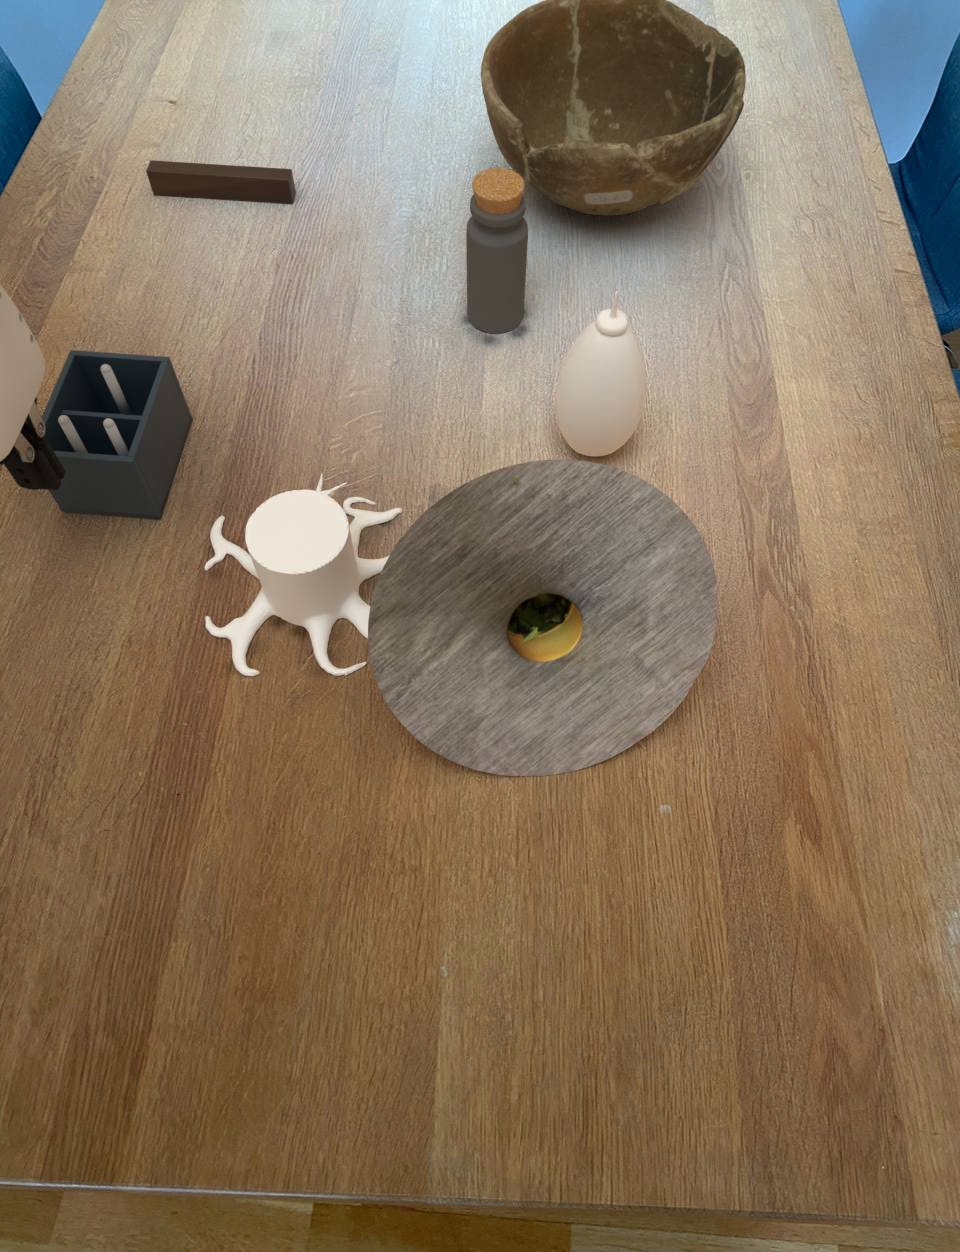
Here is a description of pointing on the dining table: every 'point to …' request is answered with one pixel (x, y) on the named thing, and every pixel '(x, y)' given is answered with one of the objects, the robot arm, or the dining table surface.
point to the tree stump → (302, 568)
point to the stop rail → (221, 181)
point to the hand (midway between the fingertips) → (43, 480)
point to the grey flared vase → (542, 618)
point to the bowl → (611, 100)
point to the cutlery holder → (116, 433)
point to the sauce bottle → (601, 386)
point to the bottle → (496, 251)
